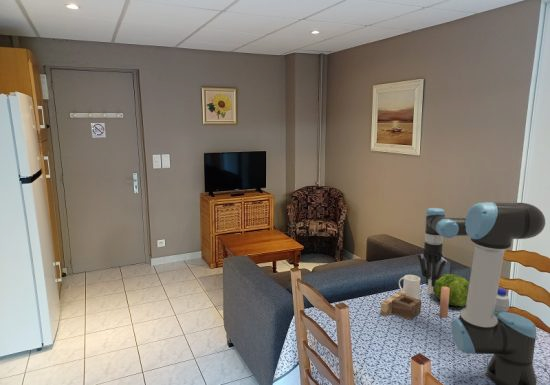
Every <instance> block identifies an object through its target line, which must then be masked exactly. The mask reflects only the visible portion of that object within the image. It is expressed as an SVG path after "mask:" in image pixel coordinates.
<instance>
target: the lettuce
mask: <svg viewBox="0 0 550 385" xmlns="http://www.w3.org/2000/svg"><path fill="white" fill-rule="evenodd" d="M469 282H470V281H468V280H467V279H466V278H465V277H463V276H461V275H458V274H455V273H454V274H453V273H452V274H451V273H447V274H442V275H441V278H440V279H438V280H436V285H435V286H434V287H433V292H432V293H434V295H435V296H436V298H438V299H439V300H440V299H441V287H443V286H445V287H449V288H450V291H449V304H448V305H451V306H453V307H464V306H465V307H466V303H467V296H468V289H469Z"/></svg>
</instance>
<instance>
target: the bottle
mask: <svg viewBox="0 0 550 385" xmlns="http://www.w3.org/2000/svg"><path fill="white" fill-rule="evenodd" d="M509 309H510V298H509V296H508V295H507V291H506V289H504V288H498V292H497V298H496V304H495V310H494V316H495V317H496V318H497V315H498V314H499V313H500V312H509Z"/></svg>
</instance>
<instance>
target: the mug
mask: <svg viewBox="0 0 550 385" xmlns="http://www.w3.org/2000/svg"><path fill="white" fill-rule="evenodd" d="M402 280H403V286H402V287H401V281H402ZM398 287H399V289H400V291H403V292H406V296H409V297H412V298H415V299H418V300H420V291H421V290H420V289H421V277H420V276H418V275H416V274H415V275H414V274H406V275H403V277H401V278H399V280H398Z"/></svg>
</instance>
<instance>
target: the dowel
mask: <svg viewBox="0 0 550 385" xmlns="http://www.w3.org/2000/svg"><path fill="white" fill-rule="evenodd" d="M449 291H450V288H449V287H445V286H443V287H441V299H439V300H440V302H439V314H438V316H439V317H440V318H443V319H446V318H448V316H449V315H448V314H449V305H450V304H449Z"/></svg>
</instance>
